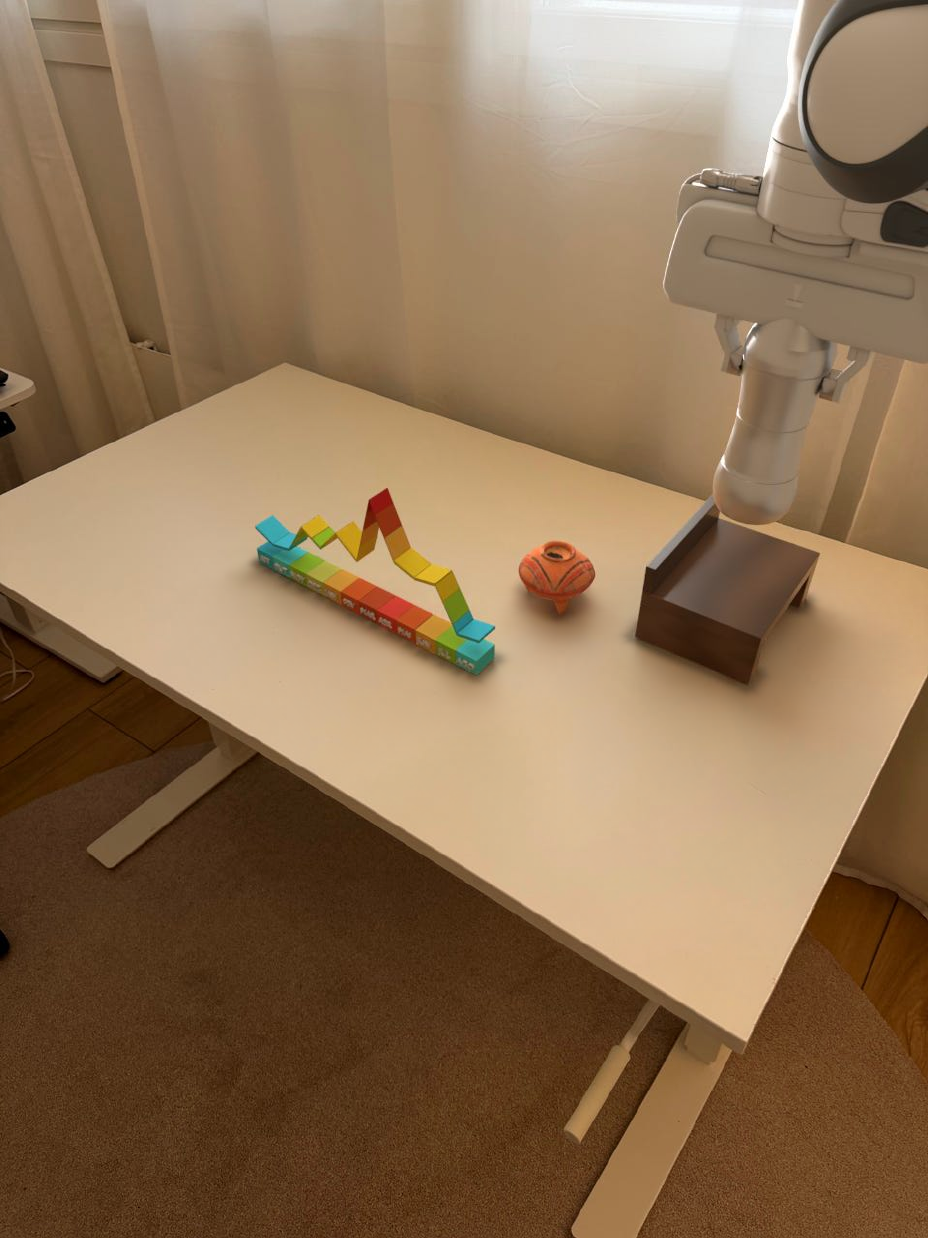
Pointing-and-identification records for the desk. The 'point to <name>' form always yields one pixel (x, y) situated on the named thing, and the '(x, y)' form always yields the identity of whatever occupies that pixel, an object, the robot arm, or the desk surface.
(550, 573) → the pot
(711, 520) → the shelf
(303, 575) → the chart
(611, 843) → the desk surface
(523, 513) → the desk surface
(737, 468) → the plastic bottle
